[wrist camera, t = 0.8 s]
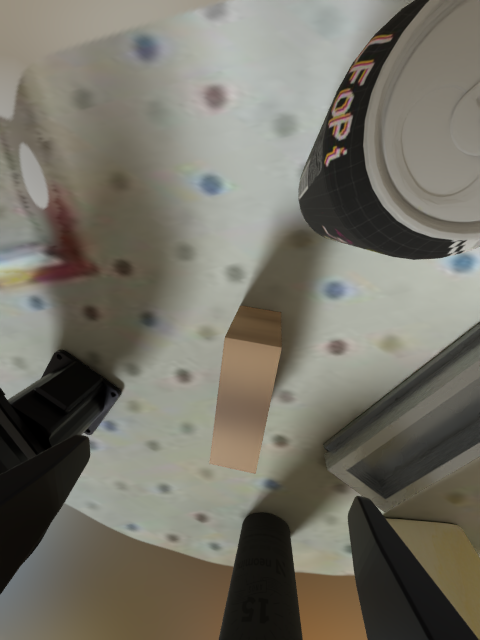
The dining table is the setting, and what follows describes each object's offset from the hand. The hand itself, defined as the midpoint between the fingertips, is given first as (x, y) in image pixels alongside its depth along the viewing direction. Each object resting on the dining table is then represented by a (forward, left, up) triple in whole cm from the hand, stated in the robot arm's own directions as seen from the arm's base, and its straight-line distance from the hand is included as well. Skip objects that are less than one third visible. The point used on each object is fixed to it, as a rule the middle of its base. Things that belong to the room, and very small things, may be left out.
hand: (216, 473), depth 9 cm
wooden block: (-2, -2, -12) cm, 12 cm away
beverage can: (+11, +1, -12) cm, 17 cm away
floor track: (+4, -15, -12) cm, 19 cm away
